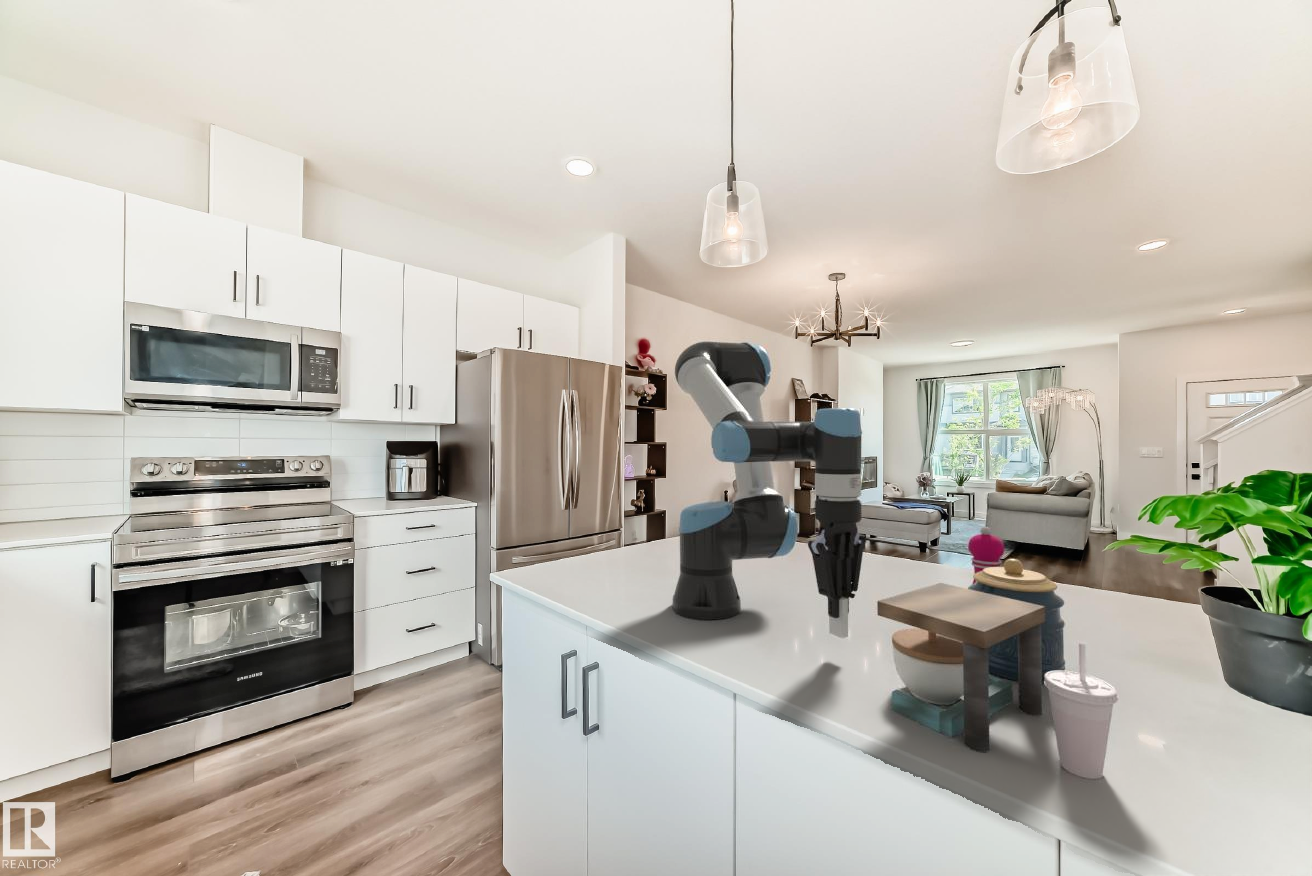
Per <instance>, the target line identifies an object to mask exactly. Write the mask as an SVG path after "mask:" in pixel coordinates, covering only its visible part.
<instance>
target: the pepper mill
mask: <svg viewBox="0 0 1312 876" xmlns="http://www.w3.org/2000/svg"><path fill="white" fill-rule="evenodd" d="M980 533H981V534H980ZM980 533H979V534H976V535H974V536H972V537H970V539H969V540H968V544H967V545H968V546H967V547H968V548H967V549H968V551H969V553H970V554H971V555H972V557H971V559H970V560H971V563H970V564H971V566H973V567H974V568H973V570H974V573H973V575H974V574H975V573H977V572H980V571H982V570H983V569H985V568H989V567H1002V560H1000V559H1001V558H1002V556H1003V555H1005V546H1004V543H1003V542H1002V540H1001V539H1000V538H999V537H997V536H996V535H995V536H994V535H992V534H991V533H992V530H991V528H990V527H988V526H982V527H981V528H980ZM975 583H976V580H975V579H974V578H973V581H972V584H971V585H973V584H975Z"/></svg>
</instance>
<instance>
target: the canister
mask: <svg viewBox="0 0 1312 876" xmlns="http://www.w3.org/2000/svg"><path fill="white" fill-rule="evenodd" d="M972 577H973V580H974V579H975V580H976V583H975V584H973V583H972V584H973V585H972V584H971V585H970V586H969V585H968V587H967V589H970V590H974V591H979V592H983V593H988V594H992V595H997V596H1001V597H1005V598H1010V599H1014V600H1019V601H1023V602H1027V603H1032V604H1036V605H1041V606H1045V622H1042V623H1041V656H1042V684H1044V681H1045V674H1046V673H1047V672H1049V671H1054V670H1063V671H1066V660H1065V652H1064V651H1065V649H1064V646H1065V645H1064V640H1065V639H1064V628H1065V627H1066V622H1065V620H1063V619H1062V616H1061V609H1062V607H1064V605H1065V600H1064V599H1063V598H1062V597H1060V596H1059V595H1058V594H1056V592H1055V591H1056V590H1057V589H1058V584H1057V583H1056V582H1054V581H1052V580H1051V579H1049V578H1047V576H1046V575H1044V574H1042V573H1040V572H1038V571H1037V572H1036V571H1033V570H1028V569H1024V565H1023V563H1022V562H1021V561H1020V560H1019V559H1016V558H1008V559H1006V560H1005V561H1004V563H1003V566H1001V567H989V568H985V569H983V570H982V571H980V572H977V573H975V574H974V573H973V575H972ZM988 673H990V674H993V675H996V676H999V677H1001V678H1005V679H1009V680H1013V681H1017V682H1018V634H1016V635H1014V636H1012V637H1009V638H1007V639H1005V640H1003V641H1000V642H998V643H996V644H994V645H992V646H989V647H988Z"/></svg>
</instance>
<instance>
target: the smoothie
mask: <svg viewBox="0 0 1312 876" xmlns="http://www.w3.org/2000/svg"><path fill="white" fill-rule="evenodd" d="M1078 663H1079V664H1078V666H1079V669H1078V670H1079V671H1078V672H1076V671H1072V670H1065V671H1063V670H1054V671H1049V672H1047V673H1046V674H1045V681H1044V683H1043V684H1044V686H1045V687H1046V688H1047V690H1048V696H1049V702H1050V708H1051V714H1052V721H1053V727H1054V732H1055V733H1054V734H1055V739H1056V740H1055V741H1056V745H1057V752H1058V758H1059V764H1060V766H1061V767H1063V768H1064V769H1065V770H1066V771H1068V772H1070V773H1072V774H1073V775H1075V776H1079V777H1081V778H1086V779H1091V780H1098V779H1101V778H1102V777H1103V773H1104V768H1105V767H1104V766H1105V760H1106V753H1107V746H1108V742H1109V741H1108V740H1109V733H1110V726H1111V721H1112V715H1113V714H1112V713H1113V709H1114V708H1113V707H1114V704H1116V703H1117V702H1118V696H1117V695H1118V693H1117V692H1118V691H1117V689H1116V688H1115V687H1114V686H1113V685H1112V684H1110V683H1108V682H1107V681H1105V680H1103V679H1101V678H1097V677H1096V676H1092V675H1089V674H1087V673H1086V672H1087V670H1086V665H1087V664H1086V663H1087V662H1086V643H1085V642H1082V641H1079V642H1078Z"/></svg>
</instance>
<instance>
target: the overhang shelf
mask: <svg viewBox="0 0 1312 876" xmlns="http://www.w3.org/2000/svg"><path fill="white" fill-rule="evenodd" d="M876 607H877V608H876V610H877V616H879V617H883V618H885V619H888V620H892V621H895V622H898V623H901V624H904V625H908V626H911V627H914V628H916V629H923V630H926V631H930V632H933V633H936V634H939V635H942V636H946V637H949V638H952V639H955V640H958V641H962V642H963V686H964V695H963V700H960V701H957V702H956V703H954V704H952V705H951V706H949V707H947V708H945V709H943V708H941V707H939V706H937V705H935V704H932V703H928V702H925V701H923V700H920V699H918V698H916V697H915V696H913V695H912V694H909V693H906V692H904V691H901V690H899V689H895V690H893V691H891V710H892V711H894V712H896V713H898V714H900V715H902V716H905V717H906V718H908V719H911V720H912V721H915V722H916V723H919V724H922V725H923V726H924V727H927V728H930V729H931V730H934V731H936V732H938V733H940V734H942V735H944V736H946V737H949V738H950V739H953V738H955V737H956V736H958V735H959V734H962V733H963V740H964V741H963V743H964V745H965V747H967V748H968V749H970V750H972V751H975V752H978V753H988V752H989V751H990V716H991V715H992V714H995V713H996V712H998V711H999V710H1001V709H1003V708H1004V707H1006V706H1007V704H1008V705H1010V704H1011V703H1012V701H1013V702H1014V698H1013V697H1014V691H1013V690H1014V688H1013V687H1014V686H1013V683H1011V682H1009V681H1007V680H1003V679H1000V678H998V677H995V676H992V675H989V672H988V647H989V646H992V645H994V644H996V643H998V642H1000V641H1003V640H1005V639H1007V638H1009V637H1012V636H1014V635H1016V634H1018V681H1017V682H1018V687H1017V688H1018V710H1019V711H1020V712H1022V713H1024V714H1026V715H1028V716H1033V717H1040V716H1042V715H1043V683H1042V656H1041V623H1042V622H1045V606H1041V605H1036V604H1032V603H1027V602H1023V601H1019V600H1014V599H1010V598H1005V597H1001V596H997V595H992V594H988V593H983V592H979V591H974V590H970V589H968V588H966V587H962V586H961V587H960V586H957V585H952V584H948V583H943V582H940V583H935V584H932V585H928V586H926V587H925V586H924V587H923V588H922V587H921V588H919V589H916V590H912V591H908V592H904V593H902V594H898V595H897V594H896V595H893V596H891V597H886V598H884V599H880V600H877V606H876Z"/></svg>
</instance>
